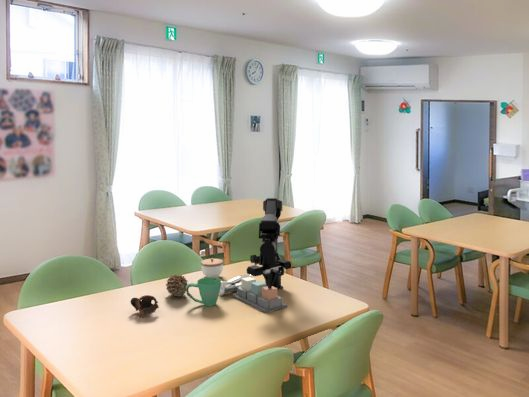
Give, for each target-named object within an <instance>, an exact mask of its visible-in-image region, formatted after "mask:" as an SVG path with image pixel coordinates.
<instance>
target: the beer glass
mask: <svg viewBox="0 0 529 397" xmlns="http://www.w3.org/2000/svg"><path fill="white" fill-rule="evenodd" d="M246 277H252V278H254V276H252V275H250V274H247V273H246V274H242V275H238V276H235V277H232V278H231V279H228V280H221V286H220V292H219V295H221V296H224V295H226V294H229V293H237V288H238V287H240V286H241V279H242V278H246Z"/></svg>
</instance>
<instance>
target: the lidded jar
mask: <svg viewBox="0 0 529 397" xmlns="http://www.w3.org/2000/svg"><path fill="white" fill-rule="evenodd" d="M200 264H201V266H200V267H201V272H202V274H203V275H204V276H205V278H207V277H213V279H214V280H215V278H220V276H221V275H222V273H223V269H224V260H223V259H221V258H213V257H211V258H206V259H203V260H201V262H200Z"/></svg>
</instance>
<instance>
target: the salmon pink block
mask: <svg viewBox="0 0 529 397" xmlns="http://www.w3.org/2000/svg"><path fill="white" fill-rule="evenodd" d="M277 296H278V289H277V288H275V287H273V286H272V287H271V288H268V286H267V287H263V288H262V298H264V299H266V300H272V299H276V298H277Z"/></svg>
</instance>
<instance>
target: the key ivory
mask: <svg viewBox="0 0 529 397" xmlns="http://www.w3.org/2000/svg"><path fill="white" fill-rule="evenodd" d="M252 277H253V276H252ZM252 277H246V278H242V279H241V288H242V289H244V290H246V291H248V290H251V283H253V282H257V279H256V278H254V277H253V278H252Z"/></svg>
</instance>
